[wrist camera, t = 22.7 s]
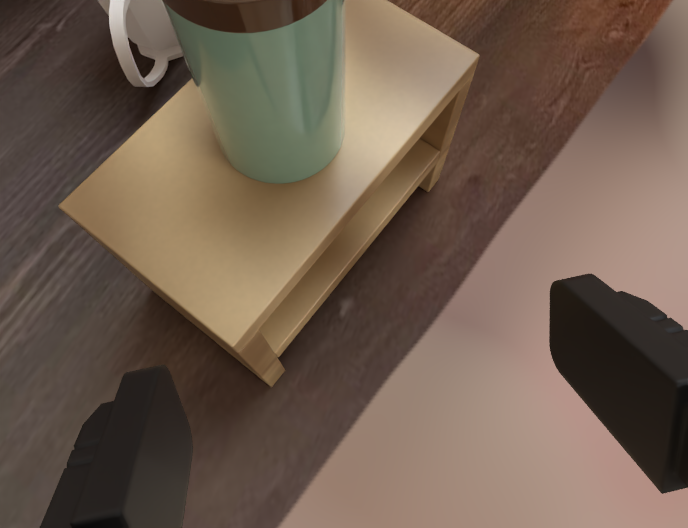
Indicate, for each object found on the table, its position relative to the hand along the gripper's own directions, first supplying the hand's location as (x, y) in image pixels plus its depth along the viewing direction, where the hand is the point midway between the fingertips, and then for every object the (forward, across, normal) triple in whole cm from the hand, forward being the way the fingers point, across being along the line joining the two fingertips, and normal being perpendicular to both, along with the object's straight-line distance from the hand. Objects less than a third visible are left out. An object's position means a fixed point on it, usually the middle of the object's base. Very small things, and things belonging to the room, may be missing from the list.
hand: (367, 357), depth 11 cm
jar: (+13, +1, -2) cm, 14 cm away
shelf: (+21, +1, +5) cm, 22 cm away
